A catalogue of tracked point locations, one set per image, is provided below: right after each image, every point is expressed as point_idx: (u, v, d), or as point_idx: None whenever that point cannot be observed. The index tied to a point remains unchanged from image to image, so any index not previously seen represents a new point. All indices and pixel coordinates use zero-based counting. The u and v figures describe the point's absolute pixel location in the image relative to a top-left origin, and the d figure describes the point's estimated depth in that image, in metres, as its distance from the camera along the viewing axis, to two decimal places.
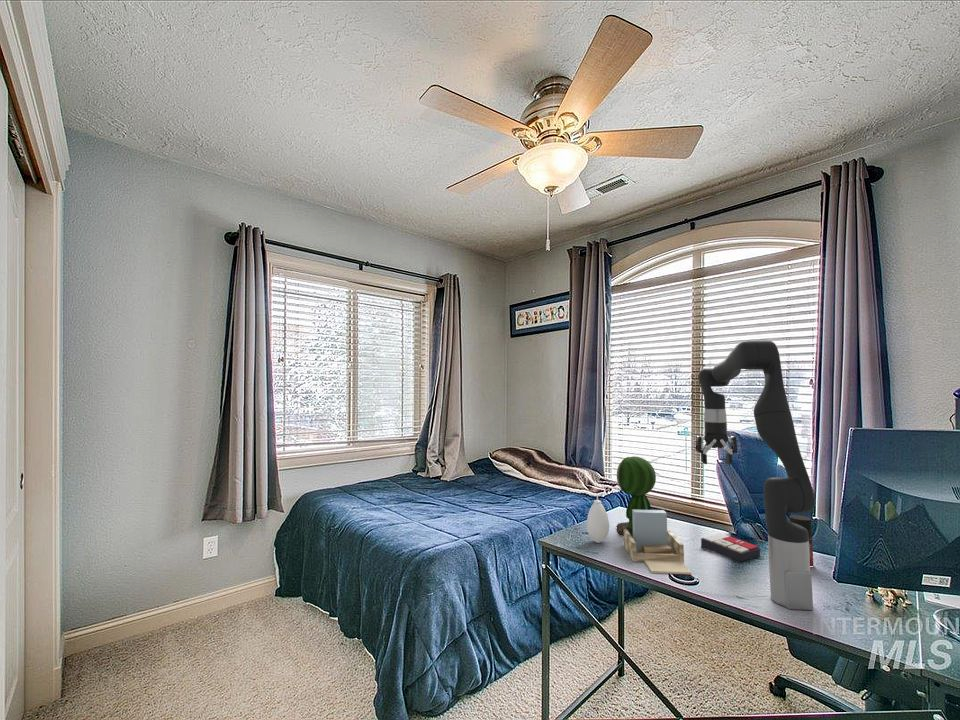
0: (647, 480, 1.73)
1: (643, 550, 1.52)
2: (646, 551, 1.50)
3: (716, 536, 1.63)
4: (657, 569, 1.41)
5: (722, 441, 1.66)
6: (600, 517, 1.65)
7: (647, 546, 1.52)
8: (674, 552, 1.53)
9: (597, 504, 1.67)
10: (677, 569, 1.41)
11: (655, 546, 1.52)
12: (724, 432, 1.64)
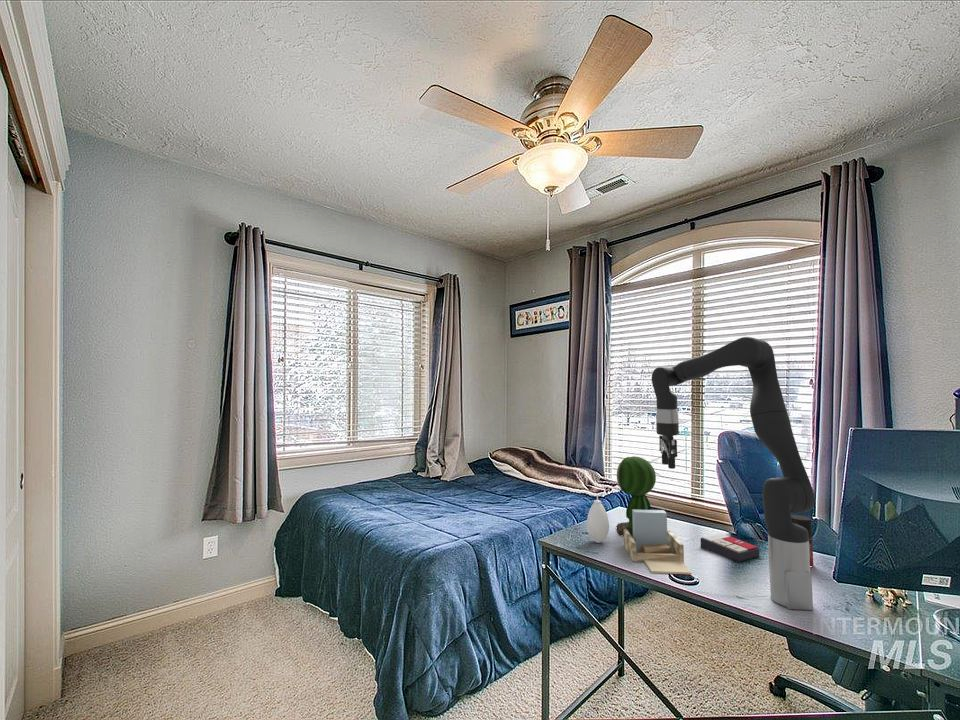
0: (647, 480, 1.73)
1: (643, 550, 1.52)
2: (646, 551, 1.50)
3: (716, 536, 1.63)
4: (657, 569, 1.41)
5: None
6: (600, 517, 1.65)
7: (646, 546, 1.52)
8: (674, 552, 1.53)
9: (597, 504, 1.67)
10: (677, 569, 1.41)
11: (654, 546, 1.53)
12: None
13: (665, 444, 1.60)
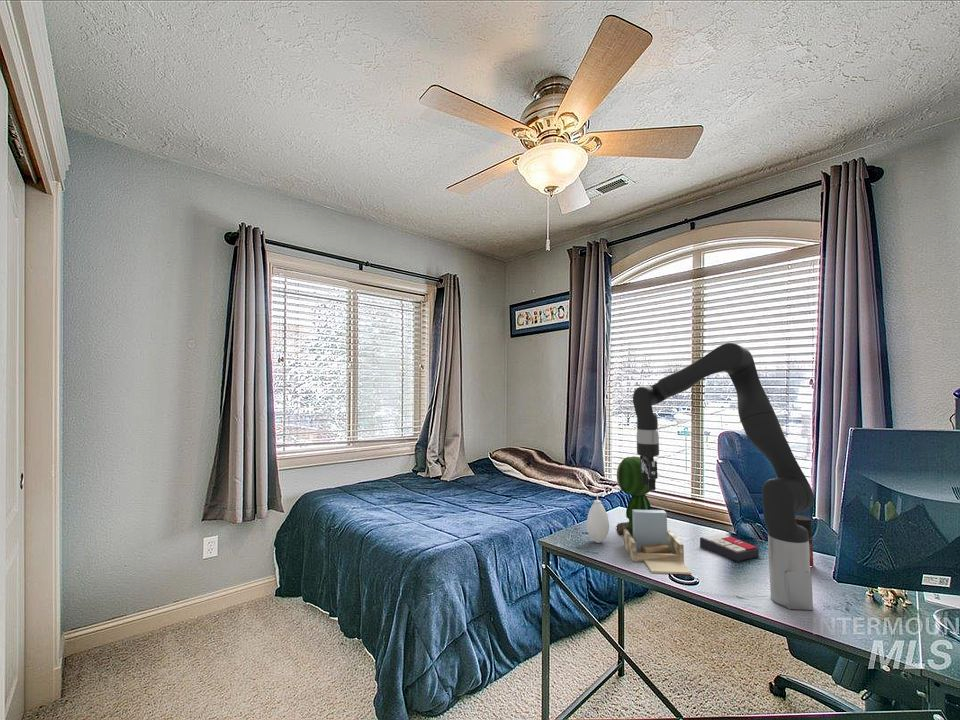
0: None
1: (643, 550, 1.51)
2: (647, 551, 1.50)
3: (716, 536, 1.63)
4: (657, 569, 1.41)
5: None
6: (600, 517, 1.65)
7: (646, 546, 1.52)
8: (674, 552, 1.53)
9: (597, 504, 1.67)
10: (677, 569, 1.41)
11: (653, 545, 1.53)
12: None
13: (645, 465, 1.57)
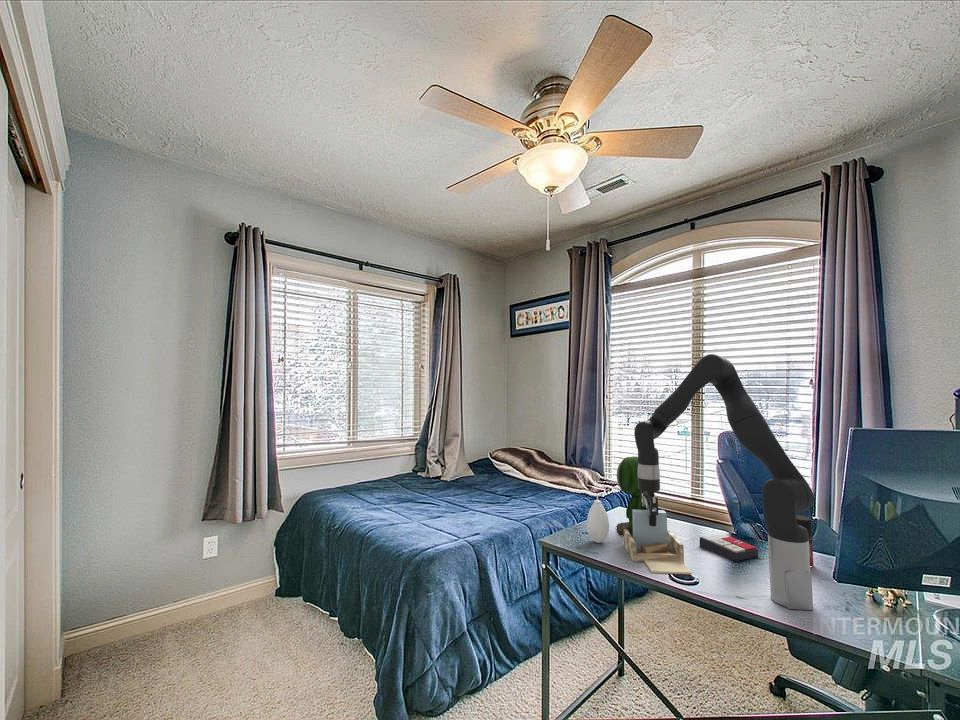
0: None
1: (643, 550, 1.51)
2: (647, 551, 1.50)
3: (716, 536, 1.63)
4: (657, 569, 1.41)
5: None
6: (600, 517, 1.65)
7: (646, 546, 1.52)
8: (674, 552, 1.53)
9: (597, 504, 1.67)
10: (677, 569, 1.41)
11: (653, 545, 1.53)
12: None
13: (646, 500, 1.57)
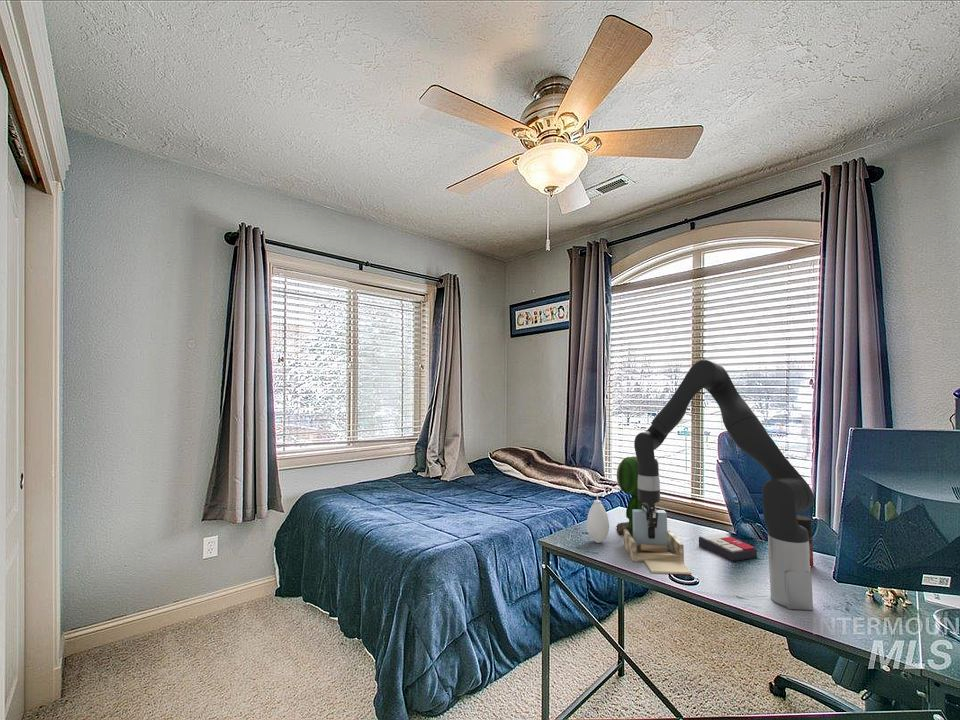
0: None
1: (639, 548, 1.54)
2: (642, 547, 1.53)
3: (715, 536, 1.63)
4: (657, 569, 1.41)
5: None
6: (600, 517, 1.65)
7: None
8: (674, 552, 1.53)
9: (597, 504, 1.67)
10: (677, 569, 1.41)
11: None
12: None
13: (646, 513, 1.57)
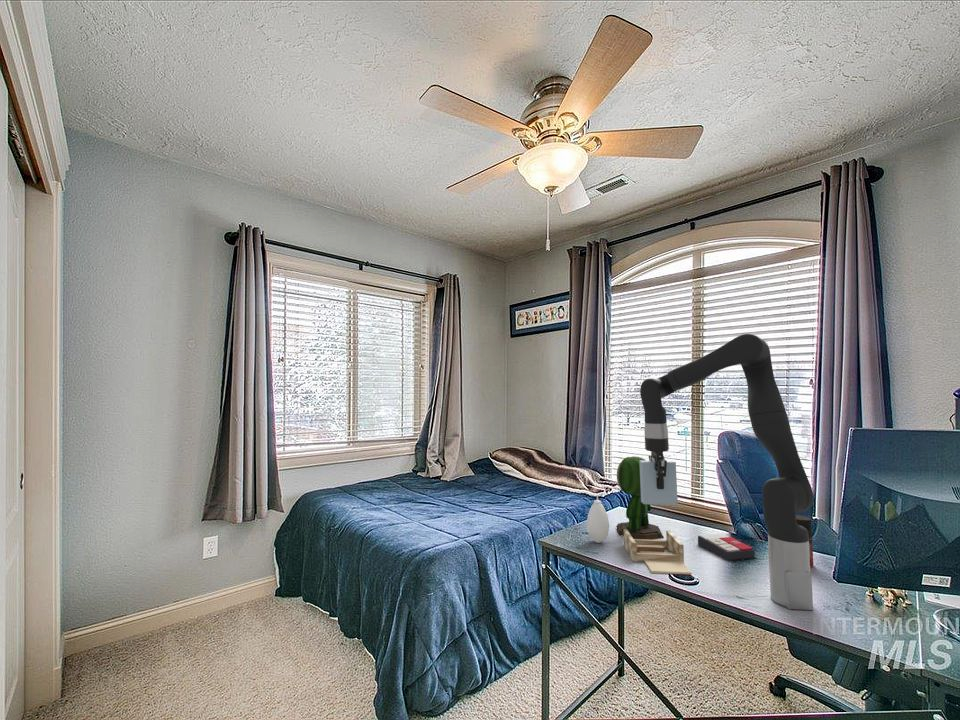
0: None
1: (636, 550, 1.56)
2: (638, 545, 1.56)
3: (715, 535, 1.64)
4: (657, 569, 1.41)
5: None
6: (600, 517, 1.65)
7: None
8: (674, 552, 1.53)
9: (597, 504, 1.67)
10: (677, 569, 1.41)
11: None
12: None
13: (654, 462, 1.50)
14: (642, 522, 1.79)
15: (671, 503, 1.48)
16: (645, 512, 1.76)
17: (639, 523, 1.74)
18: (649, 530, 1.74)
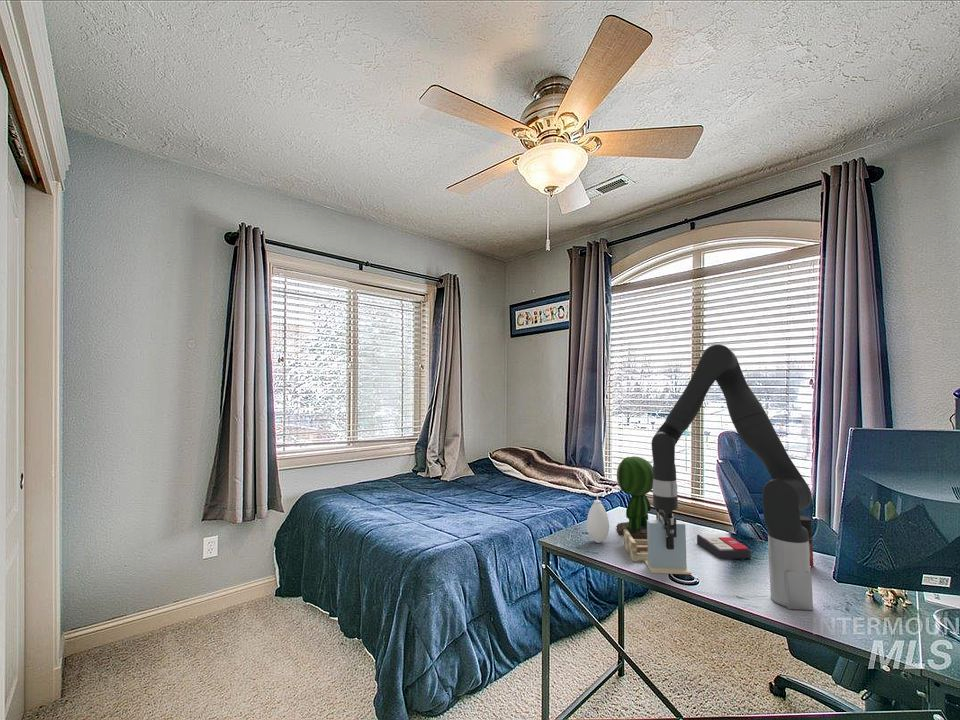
0: (647, 480, 1.73)
1: (637, 550, 1.55)
2: (638, 546, 1.55)
3: (715, 535, 1.64)
4: (657, 569, 1.41)
5: None
6: (600, 517, 1.65)
7: None
8: None
9: (597, 504, 1.67)
10: (677, 569, 1.41)
11: None
12: None
13: (663, 520, 1.42)
14: (642, 522, 1.79)
15: (680, 567, 1.41)
16: (645, 512, 1.76)
17: (639, 523, 1.74)
18: None
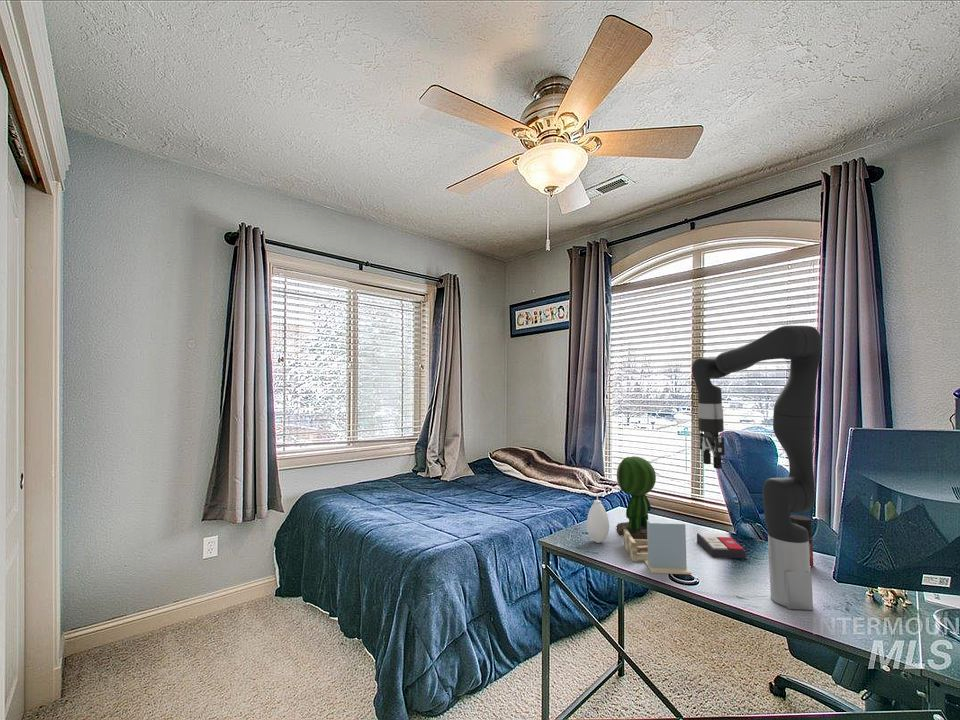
0: (647, 480, 1.73)
1: (638, 551, 1.55)
2: (639, 546, 1.55)
3: (715, 534, 1.65)
4: (657, 569, 1.41)
5: None
6: (600, 517, 1.65)
7: None
8: None
9: (597, 504, 1.67)
10: (677, 569, 1.41)
11: None
12: None
13: (709, 442, 1.46)
14: (642, 522, 1.79)
15: (680, 567, 1.41)
16: (645, 512, 1.76)
17: (639, 523, 1.74)
18: None
